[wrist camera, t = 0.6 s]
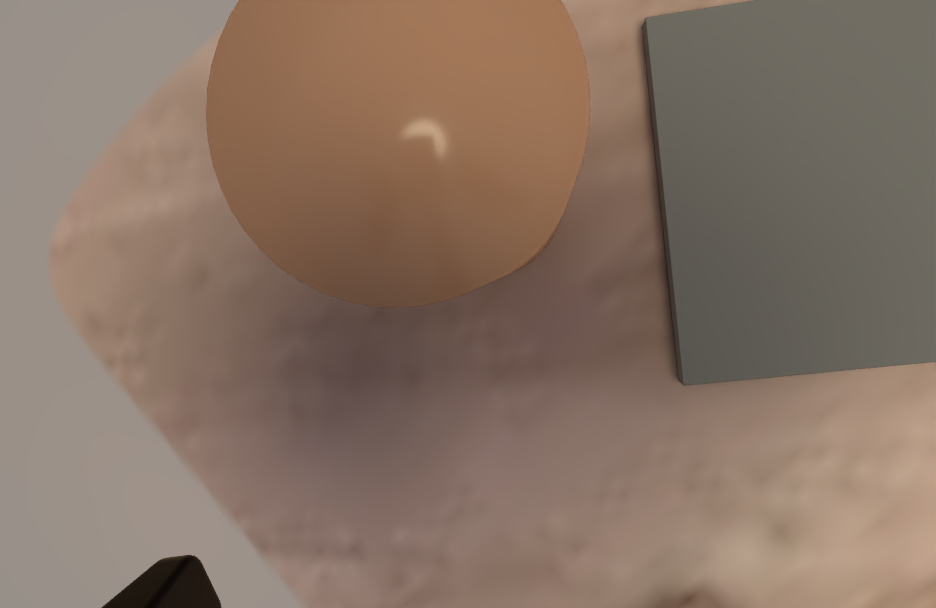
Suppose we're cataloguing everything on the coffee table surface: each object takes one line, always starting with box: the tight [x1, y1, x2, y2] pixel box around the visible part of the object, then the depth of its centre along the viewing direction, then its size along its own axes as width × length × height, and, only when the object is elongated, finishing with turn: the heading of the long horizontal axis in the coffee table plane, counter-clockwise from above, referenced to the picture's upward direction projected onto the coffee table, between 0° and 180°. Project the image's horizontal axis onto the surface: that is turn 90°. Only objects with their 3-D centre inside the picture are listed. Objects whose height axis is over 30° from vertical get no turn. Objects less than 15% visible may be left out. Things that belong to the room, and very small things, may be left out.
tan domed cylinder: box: [206, 0, 590, 308], centre depth 16 cm, size 5×5×13 cm
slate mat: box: [642, 0, 936, 386], centre depth 20 cm, size 11×11×1 cm
